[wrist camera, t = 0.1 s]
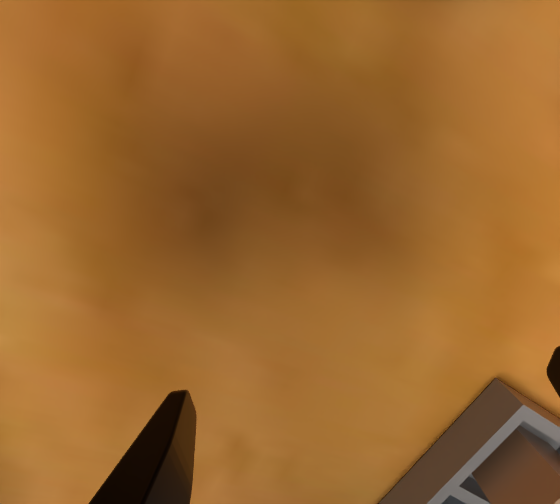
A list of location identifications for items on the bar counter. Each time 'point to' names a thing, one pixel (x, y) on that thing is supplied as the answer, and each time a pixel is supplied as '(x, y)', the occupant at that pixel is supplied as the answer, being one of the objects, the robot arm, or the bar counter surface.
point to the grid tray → (472, 447)
